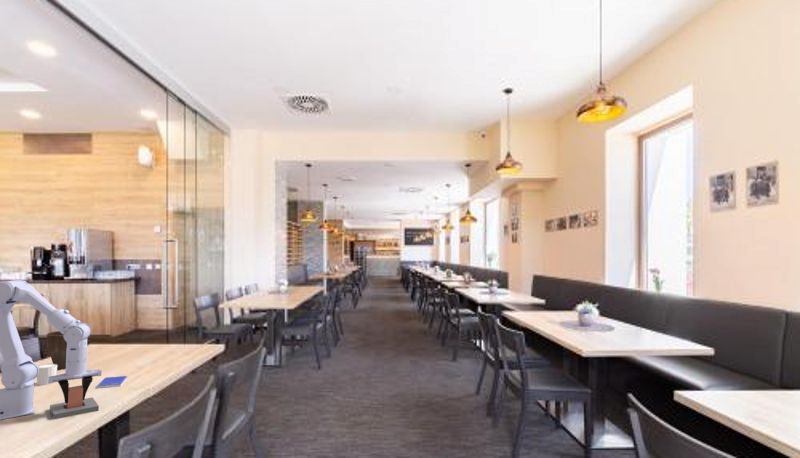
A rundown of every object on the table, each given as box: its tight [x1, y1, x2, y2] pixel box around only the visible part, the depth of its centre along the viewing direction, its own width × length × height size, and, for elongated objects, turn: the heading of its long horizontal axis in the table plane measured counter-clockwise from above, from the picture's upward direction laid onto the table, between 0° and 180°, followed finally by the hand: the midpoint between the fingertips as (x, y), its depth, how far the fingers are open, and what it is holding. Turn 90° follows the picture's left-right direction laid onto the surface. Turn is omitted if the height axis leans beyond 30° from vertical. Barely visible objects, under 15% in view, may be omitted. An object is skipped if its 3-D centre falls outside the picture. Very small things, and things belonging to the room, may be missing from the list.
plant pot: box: [46, 330, 67, 370], centre depth 206 cm, size 15×15×16 cm
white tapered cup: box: [36, 363, 58, 386], centre depth 181 cm, size 7×7×7 cm
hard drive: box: [96, 375, 128, 389], centre depth 182 cm, size 2×8×12 cm
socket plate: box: [49, 396, 100, 420], centre depth 151 cm, size 12×12×2 cm
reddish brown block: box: [66, 384, 83, 409], centre depth 151 cm, size 4×4×7 cm
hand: (74, 400), depth 151 cm, fingers closed on reddish brown block, 4 cm apart
